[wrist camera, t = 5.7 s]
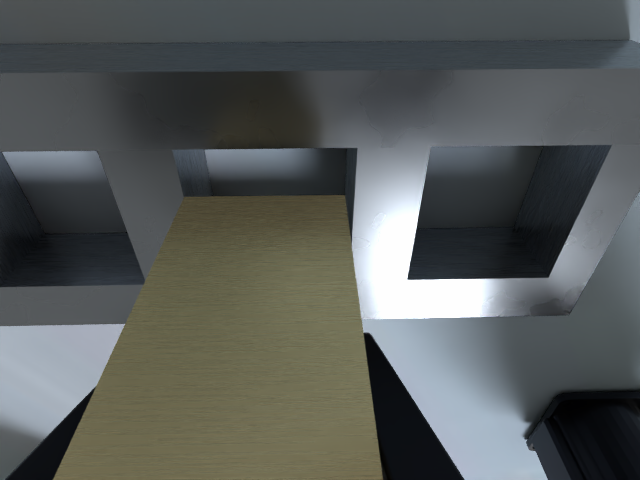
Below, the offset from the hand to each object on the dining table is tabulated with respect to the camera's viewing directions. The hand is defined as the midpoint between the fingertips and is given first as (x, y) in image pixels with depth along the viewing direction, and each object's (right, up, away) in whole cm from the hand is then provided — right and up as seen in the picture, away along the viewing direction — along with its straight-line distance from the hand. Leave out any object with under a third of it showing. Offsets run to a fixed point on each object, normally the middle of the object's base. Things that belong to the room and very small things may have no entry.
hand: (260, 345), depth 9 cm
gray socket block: (0, +5, +6) cm, 8 cm away
